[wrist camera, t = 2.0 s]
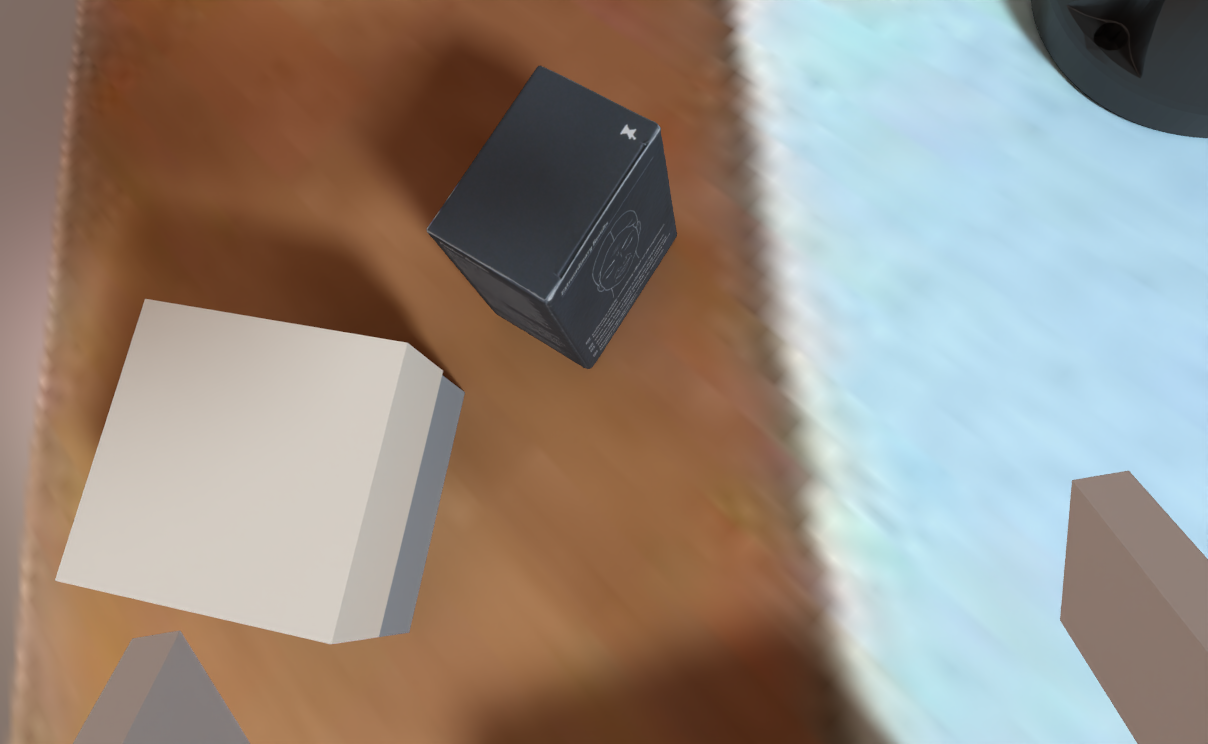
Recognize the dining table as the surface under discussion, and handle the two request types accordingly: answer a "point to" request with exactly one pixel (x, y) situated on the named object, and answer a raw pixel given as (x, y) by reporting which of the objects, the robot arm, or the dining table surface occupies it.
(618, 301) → the box
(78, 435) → the dining table surface
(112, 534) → the tower top
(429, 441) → the block
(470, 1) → the dining table surface
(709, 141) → the dining table surface
